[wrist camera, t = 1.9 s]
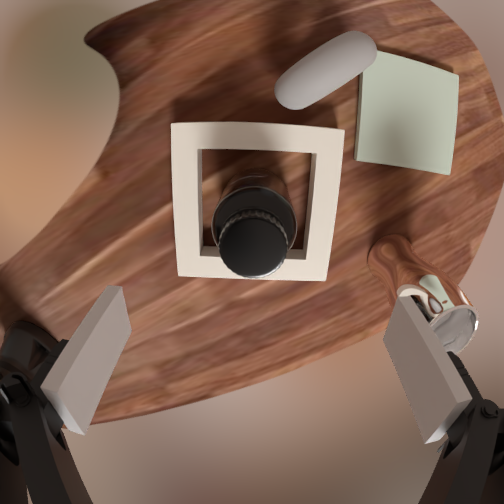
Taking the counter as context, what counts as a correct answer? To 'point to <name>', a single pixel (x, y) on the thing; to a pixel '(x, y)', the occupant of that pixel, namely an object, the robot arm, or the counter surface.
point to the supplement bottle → (254, 223)
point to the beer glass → (424, 290)
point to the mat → (406, 114)
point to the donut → (325, 69)
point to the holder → (255, 138)
